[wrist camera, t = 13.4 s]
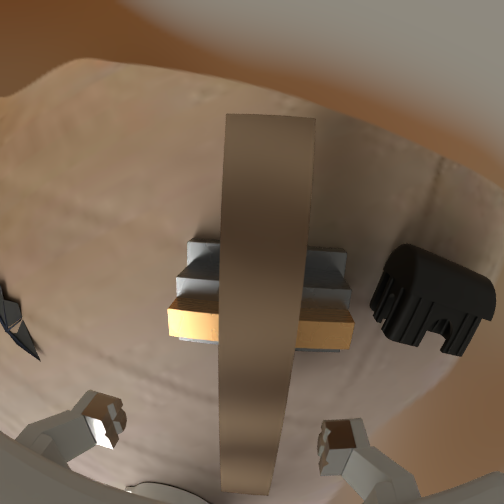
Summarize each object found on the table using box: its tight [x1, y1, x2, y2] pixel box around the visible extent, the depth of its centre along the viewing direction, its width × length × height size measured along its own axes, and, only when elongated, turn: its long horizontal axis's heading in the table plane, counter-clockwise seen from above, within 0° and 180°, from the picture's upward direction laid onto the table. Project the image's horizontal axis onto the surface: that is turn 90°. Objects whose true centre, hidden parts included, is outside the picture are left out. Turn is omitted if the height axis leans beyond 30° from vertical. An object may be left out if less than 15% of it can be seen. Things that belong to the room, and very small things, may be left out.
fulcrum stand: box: [168, 238, 355, 352], centre depth 22 cm, size 8×13×8 cm, turn 87°
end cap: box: [370, 244, 496, 357], centre depth 22 cm, size 10×7×7 cm
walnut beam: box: [218, 114, 316, 496], centre depth 16 cm, size 24×4×5 cm, turn 177°
